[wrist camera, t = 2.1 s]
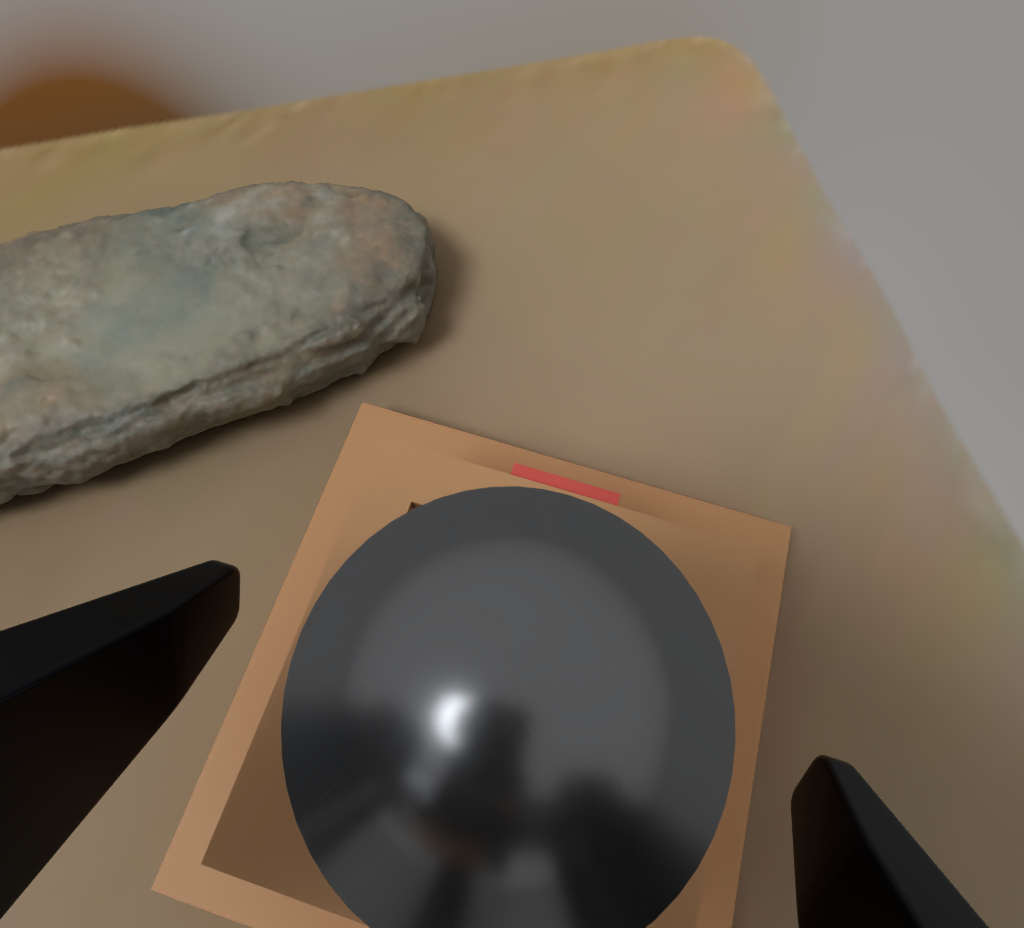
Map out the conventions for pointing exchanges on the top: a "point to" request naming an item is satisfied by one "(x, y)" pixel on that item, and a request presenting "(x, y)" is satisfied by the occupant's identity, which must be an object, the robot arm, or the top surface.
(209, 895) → the orange square socket base
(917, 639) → the top surface
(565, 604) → the cylinder
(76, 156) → the top surface
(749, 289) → the top surface
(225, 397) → the elongated rock
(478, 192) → the top surface
